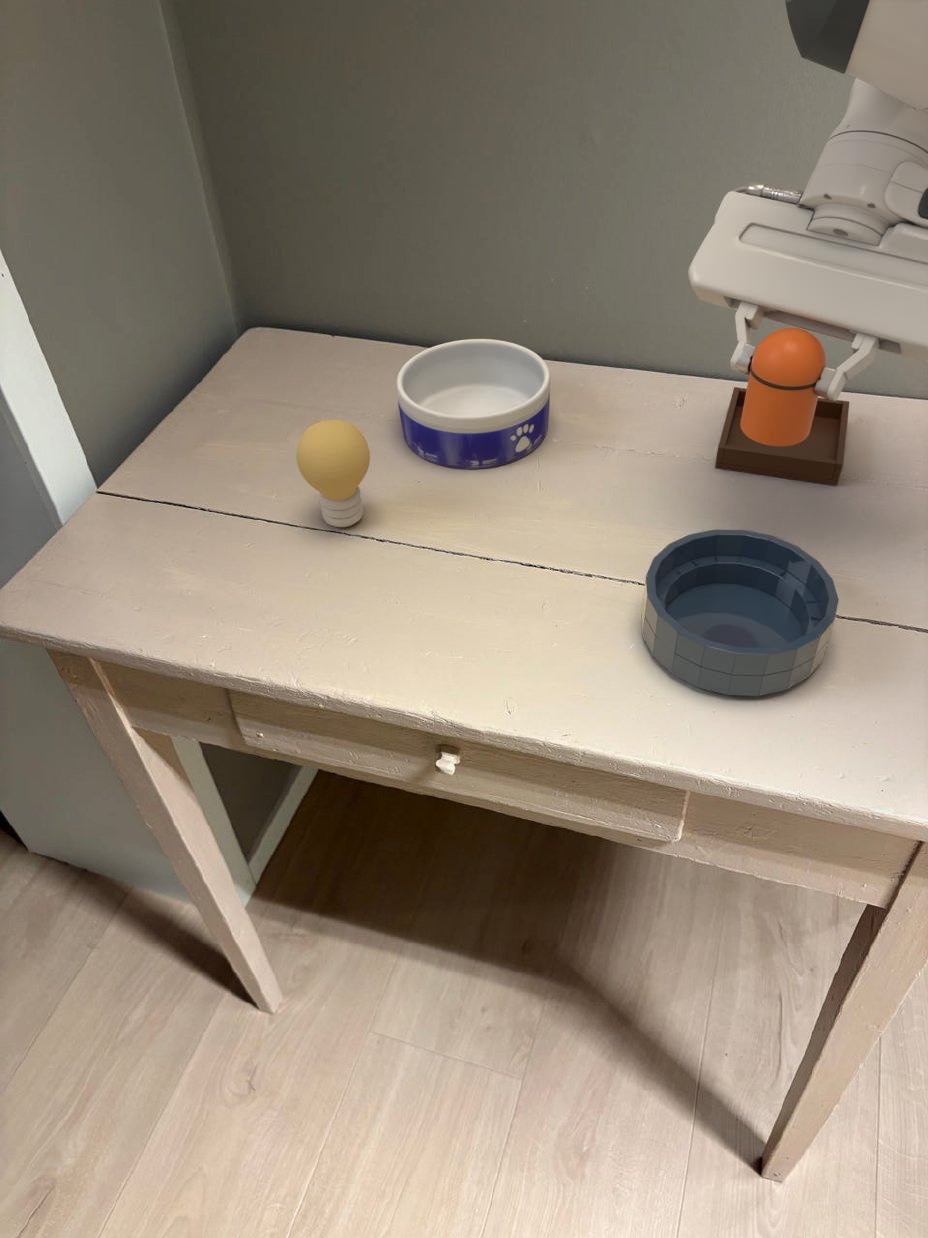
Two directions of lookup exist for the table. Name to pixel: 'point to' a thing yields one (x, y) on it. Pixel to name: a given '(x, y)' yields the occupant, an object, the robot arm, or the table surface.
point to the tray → (801, 461)
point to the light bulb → (335, 468)
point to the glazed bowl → (738, 611)
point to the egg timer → (783, 388)
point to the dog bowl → (474, 403)
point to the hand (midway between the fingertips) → (781, 383)
